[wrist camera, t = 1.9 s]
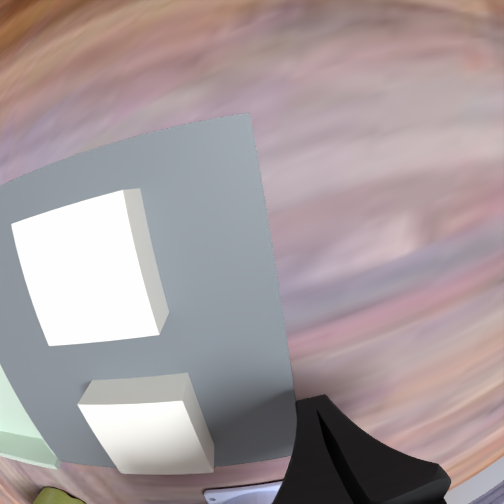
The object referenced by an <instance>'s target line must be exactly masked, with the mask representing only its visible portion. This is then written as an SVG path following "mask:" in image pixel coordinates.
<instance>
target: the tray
mask: <svg viewBox="0 0 504 504" xmlns="http://www.w3.org/2000/svg"><path fill="white" fill-rule="evenodd" d="M0 456H3V457H6V458H10V459H13V460H17V461H21V462H24V463H28V464H33V465H37V466H41V467H46V468H51V469H56V470H58V469H59V467H60V465H61V463H62V461H59V459H58V458H57V457H56V455H55V454H54V453H53V451H52V450H51V449H50V447H49V446H48V444H47V443H46V442H45V440H44V439H43V437H42V436H41V434H40V433H39V431H38V430H37V428H36V427H35V425H34V424H33V422H32V421H31V419H30V417H29V416H28V414H27V413H26V411H25V409H24V408H23V406H22V404H21V402H20V401H19V399H18V397H17V395H16V394H15V392H14V390H13V388H12V386H11V384H10V383H9V381H8V379H7V377H6V375H5V373H4V371H3V369H2V367H1V365H0Z"/></svg>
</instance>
